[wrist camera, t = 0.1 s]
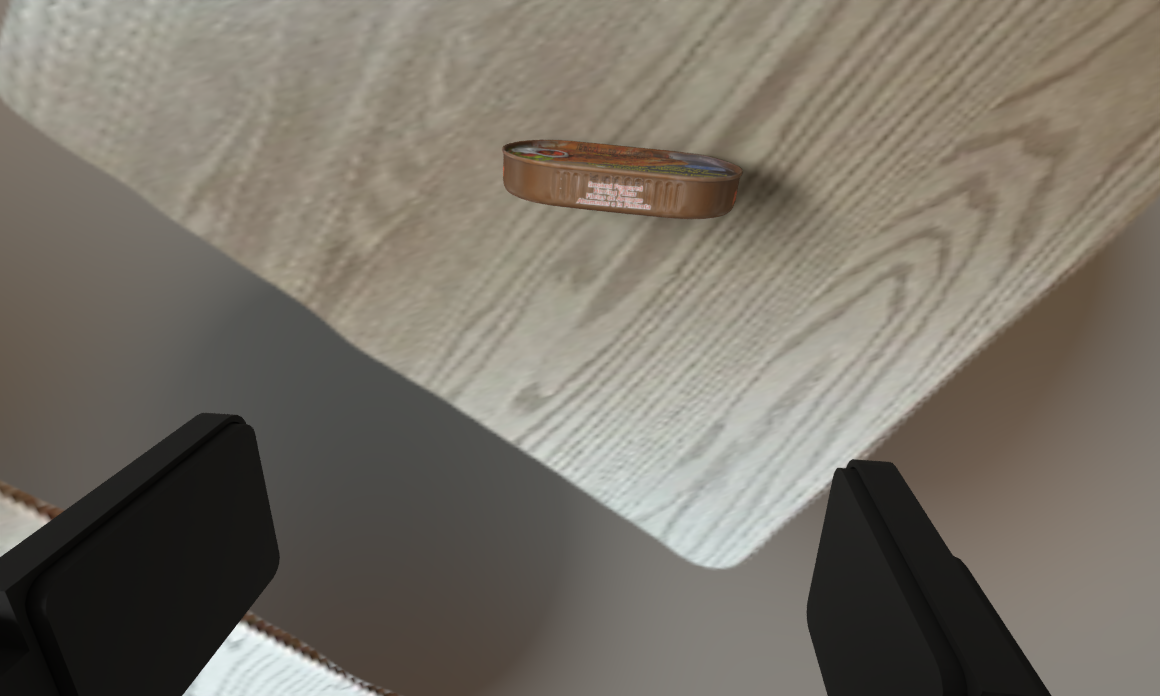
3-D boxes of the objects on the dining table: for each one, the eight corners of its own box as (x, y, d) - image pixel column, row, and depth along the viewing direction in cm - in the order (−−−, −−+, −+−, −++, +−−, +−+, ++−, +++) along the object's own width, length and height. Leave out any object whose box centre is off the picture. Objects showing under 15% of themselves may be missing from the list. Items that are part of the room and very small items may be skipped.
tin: (735, 157, 43) (753, 172, 35) (726, 203, 44) (742, 228, 37) (517, 135, 44) (488, 145, 36) (515, 181, 45) (486, 200, 37)
